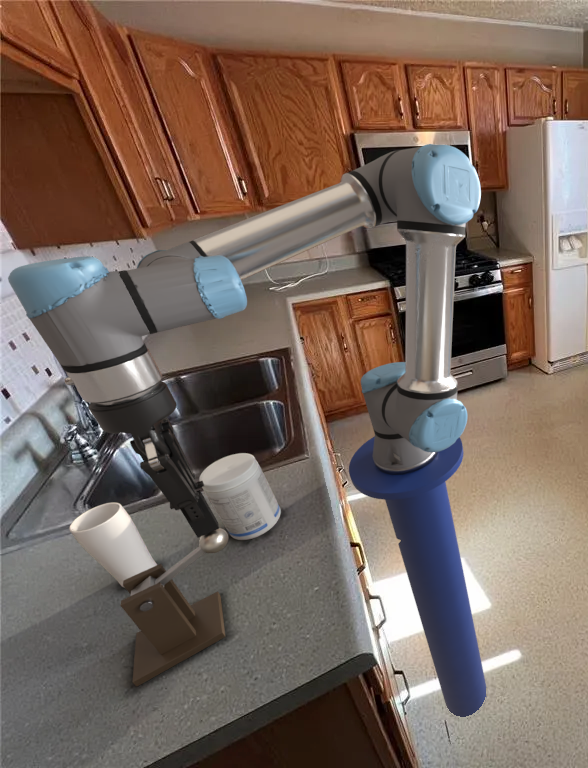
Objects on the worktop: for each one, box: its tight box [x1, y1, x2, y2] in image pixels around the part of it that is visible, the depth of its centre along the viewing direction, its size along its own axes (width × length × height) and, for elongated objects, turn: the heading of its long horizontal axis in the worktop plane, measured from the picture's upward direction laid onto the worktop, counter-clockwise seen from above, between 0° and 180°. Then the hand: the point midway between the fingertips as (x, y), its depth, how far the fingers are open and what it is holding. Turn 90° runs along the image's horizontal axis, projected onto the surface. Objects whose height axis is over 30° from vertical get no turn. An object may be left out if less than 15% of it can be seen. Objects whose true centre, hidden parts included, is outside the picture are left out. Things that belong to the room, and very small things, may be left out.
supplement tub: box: [198, 452, 282, 541], centre depth 81 cm, size 10×10×15 cm
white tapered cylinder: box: [68, 501, 158, 589], centre depth 72 cm, size 7×7×15 cm
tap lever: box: [130, 527, 229, 596], centre depth 61 cm, size 13×4×4 cm, turn 127°
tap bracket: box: [119, 563, 226, 688], centre depth 61 cm, size 11×9×13 cm
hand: (208, 530), depth 61 cm, fingers closed
